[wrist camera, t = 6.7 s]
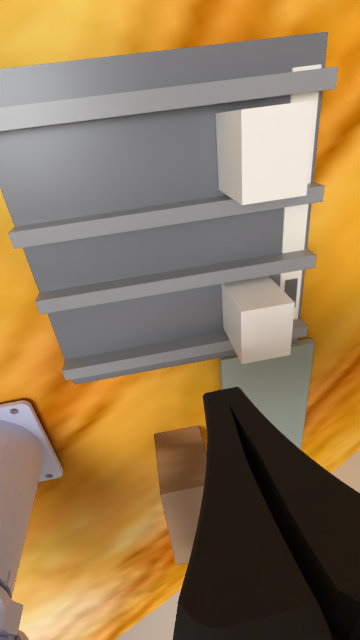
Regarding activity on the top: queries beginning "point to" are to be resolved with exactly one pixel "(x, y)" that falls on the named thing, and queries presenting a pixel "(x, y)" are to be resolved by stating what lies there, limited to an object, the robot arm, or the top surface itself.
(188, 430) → the brown rectangular block
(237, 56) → the switch panel
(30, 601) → the top surface
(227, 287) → the switch tab
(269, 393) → the mat
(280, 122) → the switch tab
